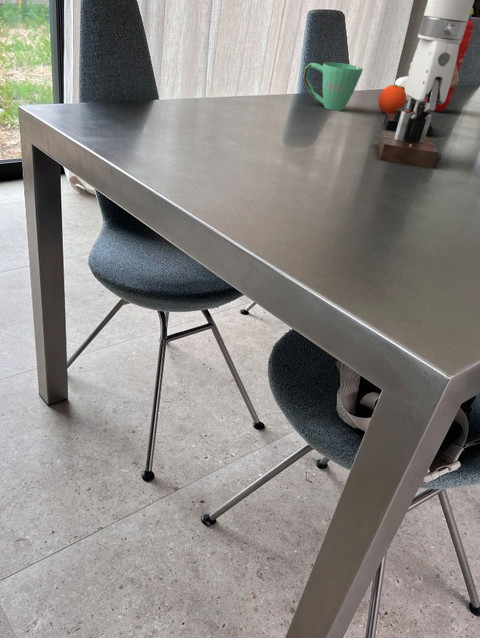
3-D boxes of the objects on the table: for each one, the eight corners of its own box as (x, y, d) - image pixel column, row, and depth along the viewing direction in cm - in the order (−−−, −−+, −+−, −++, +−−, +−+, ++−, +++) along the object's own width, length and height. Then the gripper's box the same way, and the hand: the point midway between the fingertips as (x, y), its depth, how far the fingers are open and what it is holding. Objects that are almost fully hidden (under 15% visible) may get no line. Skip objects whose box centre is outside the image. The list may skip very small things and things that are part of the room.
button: (417, 112, 134) (420, 104, 133) (419, 115, 131) (421, 107, 130) (402, 110, 135) (404, 102, 134) (403, 113, 132) (406, 105, 131)
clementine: (390, 110, 153) (397, 81, 149) (409, 116, 149) (418, 87, 145) (369, 111, 150) (377, 81, 145) (389, 117, 145) (397, 87, 141)
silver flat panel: (420, 140, 112) (429, 112, 109) (423, 142, 111) (432, 114, 108) (394, 138, 112) (402, 109, 109) (396, 140, 110) (404, 111, 107)
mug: (357, 110, 149) (367, 67, 143) (346, 115, 142) (356, 70, 136) (305, 99, 154) (312, 58, 148) (292, 104, 147) (300, 60, 141)
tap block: (426, 153, 117) (431, 137, 115) (432, 168, 108) (438, 151, 106) (377, 145, 119) (382, 129, 117) (379, 160, 109) (384, 143, 107)
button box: (425, 128, 139) (430, 110, 136) (429, 137, 131) (435, 118, 128) (384, 121, 140) (388, 104, 138) (385, 130, 132) (391, 112, 130)
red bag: (449, 117, 154) (485, 9, 140) (419, 112, 156) (451, 4, 141) (446, 109, 164) (480, 7, 149) (418, 105, 165) (448, 3, 151)
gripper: (481, 38, 94) (442, 152, 105) (444, 29, 107) (413, 131, 118) (438, 33, 94) (403, 148, 105) (406, 24, 106) (378, 128, 117)
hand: (409, 138), depth 111 cm, fingers closed on silver flat panel
